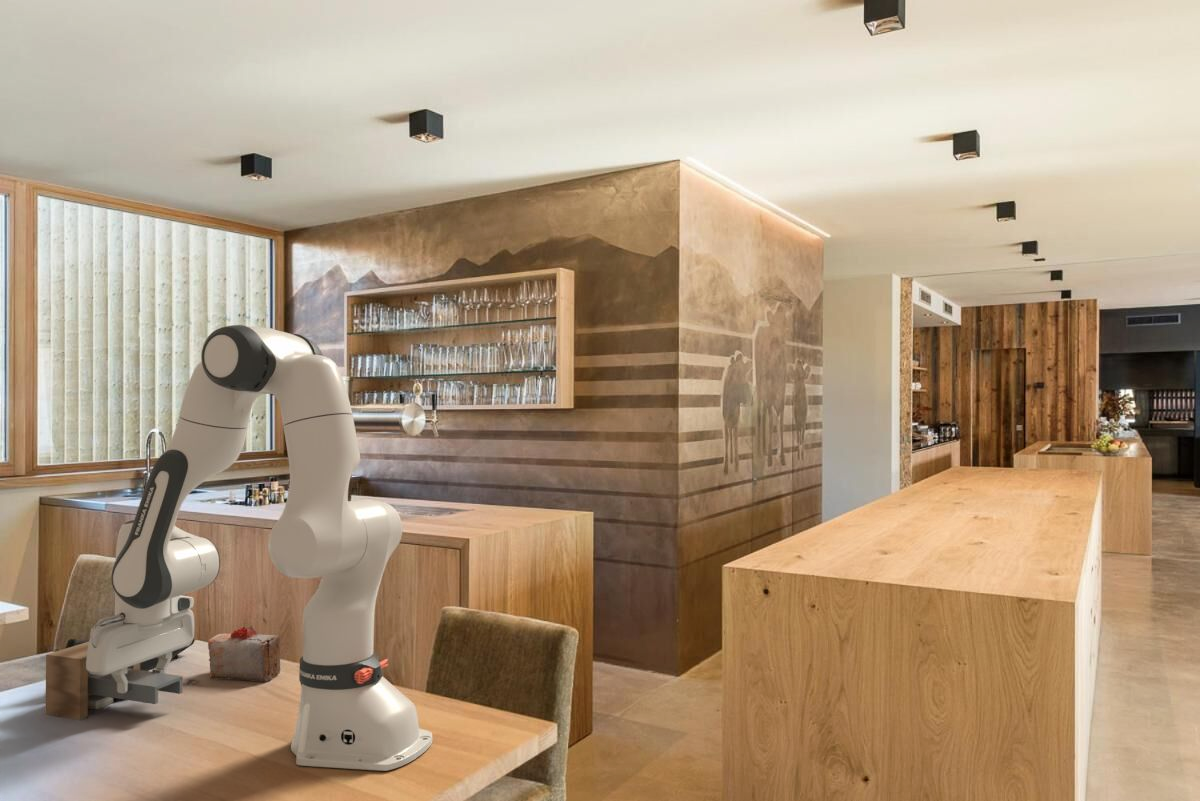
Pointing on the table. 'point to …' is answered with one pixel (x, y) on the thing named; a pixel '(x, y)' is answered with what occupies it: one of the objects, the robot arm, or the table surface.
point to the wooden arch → (71, 684)
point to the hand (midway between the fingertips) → (142, 685)
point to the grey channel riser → (136, 685)
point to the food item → (244, 655)
